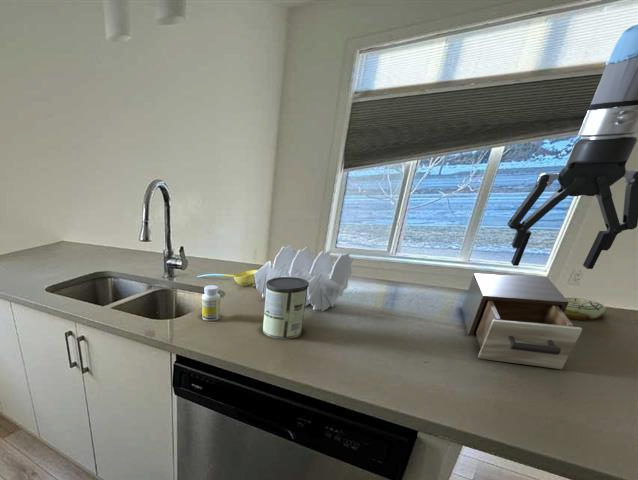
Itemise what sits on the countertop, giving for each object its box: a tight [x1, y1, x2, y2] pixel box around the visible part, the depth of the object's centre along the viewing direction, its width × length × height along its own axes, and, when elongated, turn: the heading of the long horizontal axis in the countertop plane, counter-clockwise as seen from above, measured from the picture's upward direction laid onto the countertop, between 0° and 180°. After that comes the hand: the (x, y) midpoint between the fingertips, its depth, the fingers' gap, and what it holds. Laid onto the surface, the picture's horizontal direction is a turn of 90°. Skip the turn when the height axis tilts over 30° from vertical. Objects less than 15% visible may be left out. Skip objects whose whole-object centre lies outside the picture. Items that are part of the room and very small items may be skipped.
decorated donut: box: [564, 296, 607, 321], centre depth 104 cm, size 10×11×4 cm
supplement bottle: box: [201, 284, 221, 322], centre depth 122 cm, size 5×5×10 cm
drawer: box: [475, 299, 583, 370], centre depth 88 cm, size 24×13×9 cm, turn 149°
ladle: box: [197, 269, 259, 287], centre depth 154 cm, size 9×26×6 cm, turn 44°
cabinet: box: [461, 273, 569, 337], centre depth 100 cm, size 20×15×11 cm
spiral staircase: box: [254, 244, 354, 311], centre depth 123 cm, size 18×18×25 cm
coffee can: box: [262, 277, 309, 339], centre depth 107 cm, size 10×10×14 cm
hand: (549, 265), depth 81 cm, fingers open, 10 cm apart
